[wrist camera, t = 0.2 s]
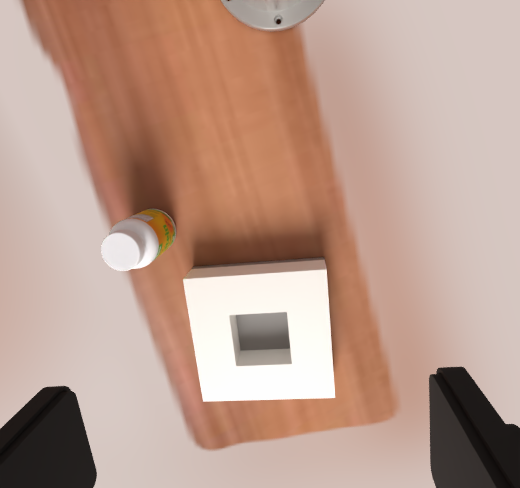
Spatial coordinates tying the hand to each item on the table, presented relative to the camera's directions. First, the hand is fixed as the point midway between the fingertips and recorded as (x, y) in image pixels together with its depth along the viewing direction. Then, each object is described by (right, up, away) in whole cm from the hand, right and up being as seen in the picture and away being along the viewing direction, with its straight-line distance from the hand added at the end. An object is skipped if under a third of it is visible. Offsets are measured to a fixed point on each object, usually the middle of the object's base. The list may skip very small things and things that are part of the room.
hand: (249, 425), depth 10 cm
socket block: (+1, -5, +39) cm, 39 cm away
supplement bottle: (-12, +6, +37) cm, 40 cm away
